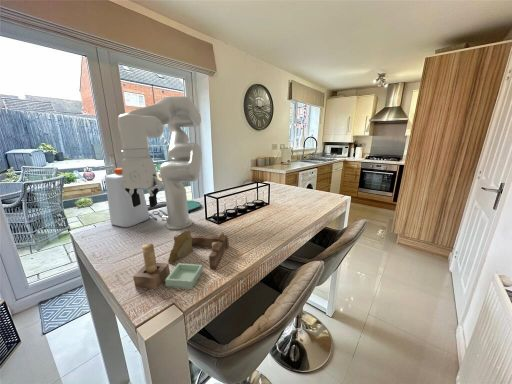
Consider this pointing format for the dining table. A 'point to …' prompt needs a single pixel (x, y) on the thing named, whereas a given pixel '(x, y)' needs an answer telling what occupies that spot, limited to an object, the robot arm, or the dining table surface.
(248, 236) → the dining table surface
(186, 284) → the tray
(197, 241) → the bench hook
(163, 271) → the holder
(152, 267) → the dowel
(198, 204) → the cutlery set
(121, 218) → the plastic bottle
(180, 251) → the rock
